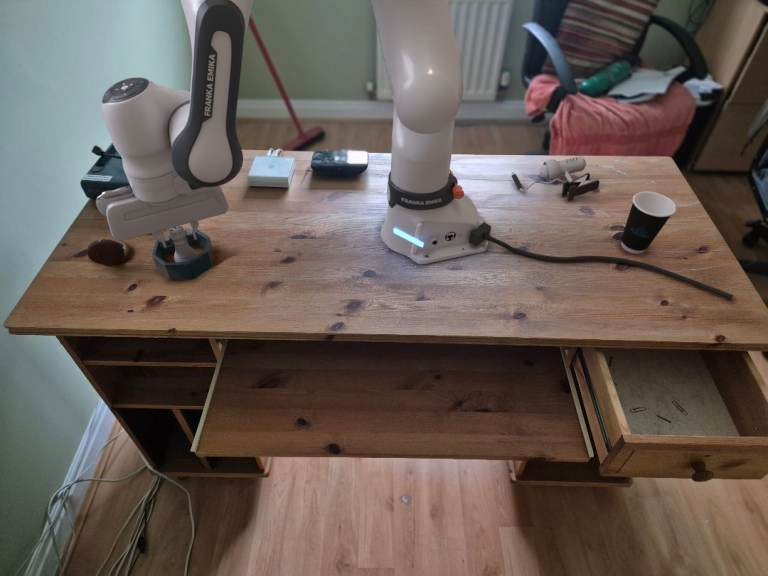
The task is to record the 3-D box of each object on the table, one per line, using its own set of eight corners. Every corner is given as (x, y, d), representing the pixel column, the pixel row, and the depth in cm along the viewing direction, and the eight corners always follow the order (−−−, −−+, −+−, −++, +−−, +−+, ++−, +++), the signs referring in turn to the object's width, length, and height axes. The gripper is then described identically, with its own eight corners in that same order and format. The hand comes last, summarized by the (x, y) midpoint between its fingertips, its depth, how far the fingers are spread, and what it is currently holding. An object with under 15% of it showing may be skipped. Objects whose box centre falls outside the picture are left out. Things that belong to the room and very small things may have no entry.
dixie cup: (621, 259, 101) (642, 215, 93) (607, 234, 107) (626, 191, 99) (659, 258, 102) (683, 215, 94) (644, 233, 107) (665, 190, 99)
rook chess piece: (204, 258, 99) (193, 226, 93) (189, 272, 96) (177, 240, 90) (186, 251, 100) (174, 219, 94) (170, 265, 97) (158, 233, 91)
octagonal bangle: (216, 243, 102) (212, 227, 99) (210, 278, 95) (205, 262, 92) (164, 246, 101) (158, 230, 98) (154, 281, 94) (148, 266, 91)
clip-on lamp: (521, 213, 116) (599, 196, 115) (522, 193, 111) (603, 175, 110) (507, 180, 123) (581, 164, 122) (508, 160, 118) (584, 143, 117)
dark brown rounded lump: (131, 242, 102) (118, 213, 96) (130, 268, 96) (117, 239, 91) (88, 249, 100) (73, 221, 94) (85, 276, 94) (69, 247, 89)
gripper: (93, 205, 79) (124, 268, 89) (222, 174, 86) (237, 236, 96) (89, 184, 83) (119, 247, 93) (213, 156, 89) (228, 218, 99)
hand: (180, 241), depth 94 cm, fingers closed on rook chess piece, 3 cm apart
